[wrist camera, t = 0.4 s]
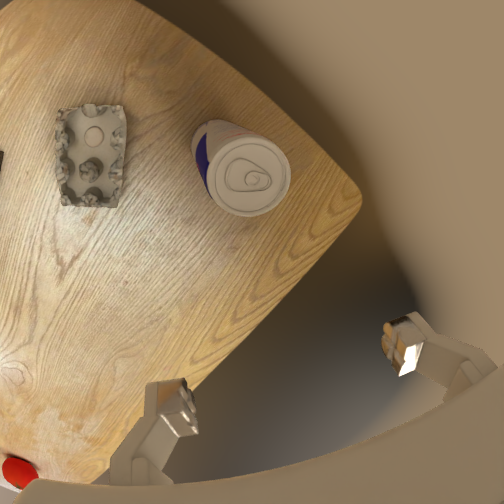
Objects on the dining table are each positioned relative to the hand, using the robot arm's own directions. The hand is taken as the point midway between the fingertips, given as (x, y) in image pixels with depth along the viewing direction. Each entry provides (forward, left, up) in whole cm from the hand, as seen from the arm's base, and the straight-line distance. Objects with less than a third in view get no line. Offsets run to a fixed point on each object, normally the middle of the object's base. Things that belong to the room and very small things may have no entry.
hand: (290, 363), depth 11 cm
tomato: (+92, -28, -26) cm, 99 cm away
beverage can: (-4, -1, -26) cm, 27 cm away
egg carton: (+1, -13, -26) cm, 29 cm away
